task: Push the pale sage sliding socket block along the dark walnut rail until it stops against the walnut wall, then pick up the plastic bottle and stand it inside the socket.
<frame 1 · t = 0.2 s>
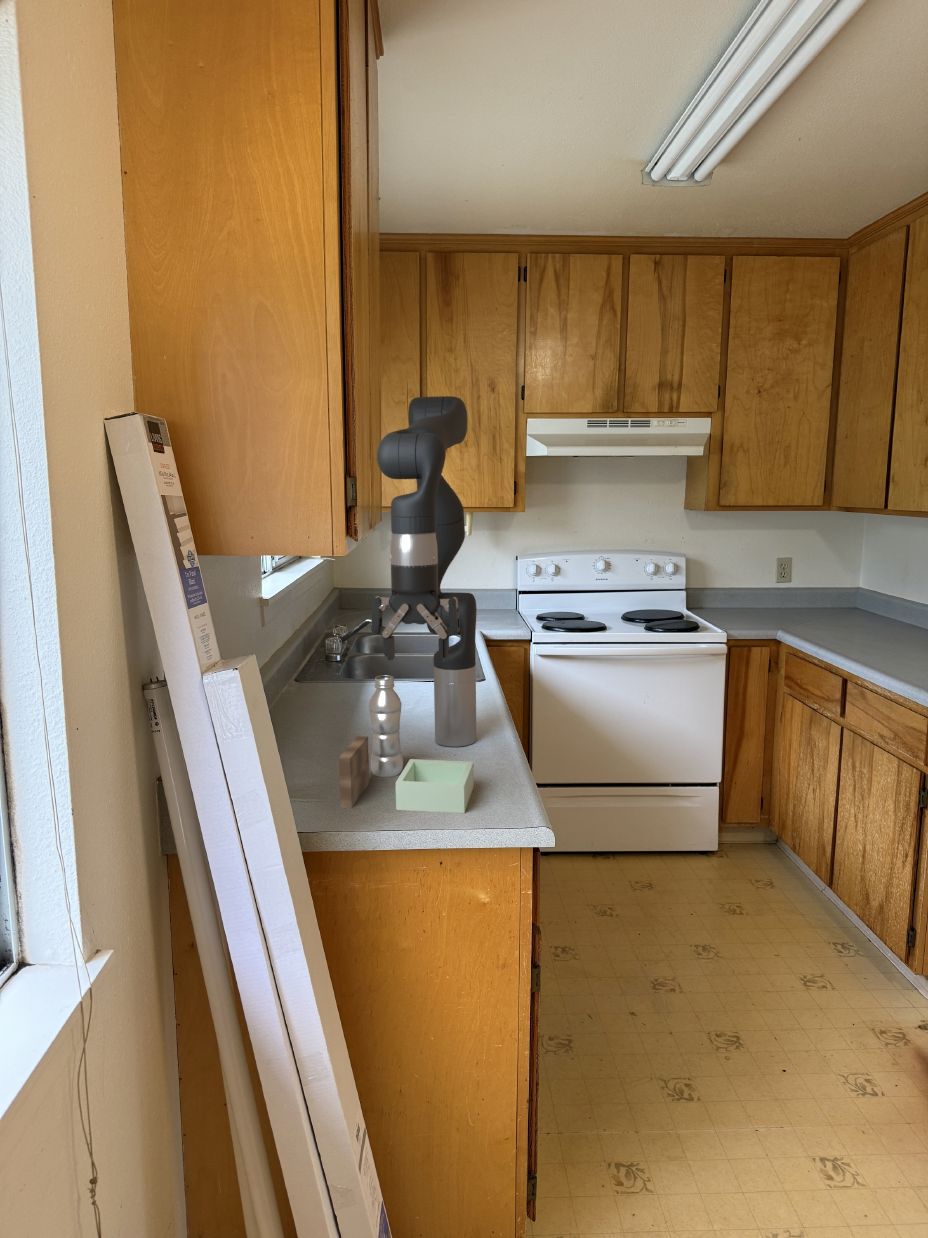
hand: (416, 659, 134), 29 cm above the countertop, tool pointing down, fingers open, 8 cm apart
socket block: (436, 785, 147), point 3 cm above the countertop, slide at 0.0 cm
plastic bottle: (387, 777, 161), on the countertop
backstop: (414, 802, 148), on the countertop
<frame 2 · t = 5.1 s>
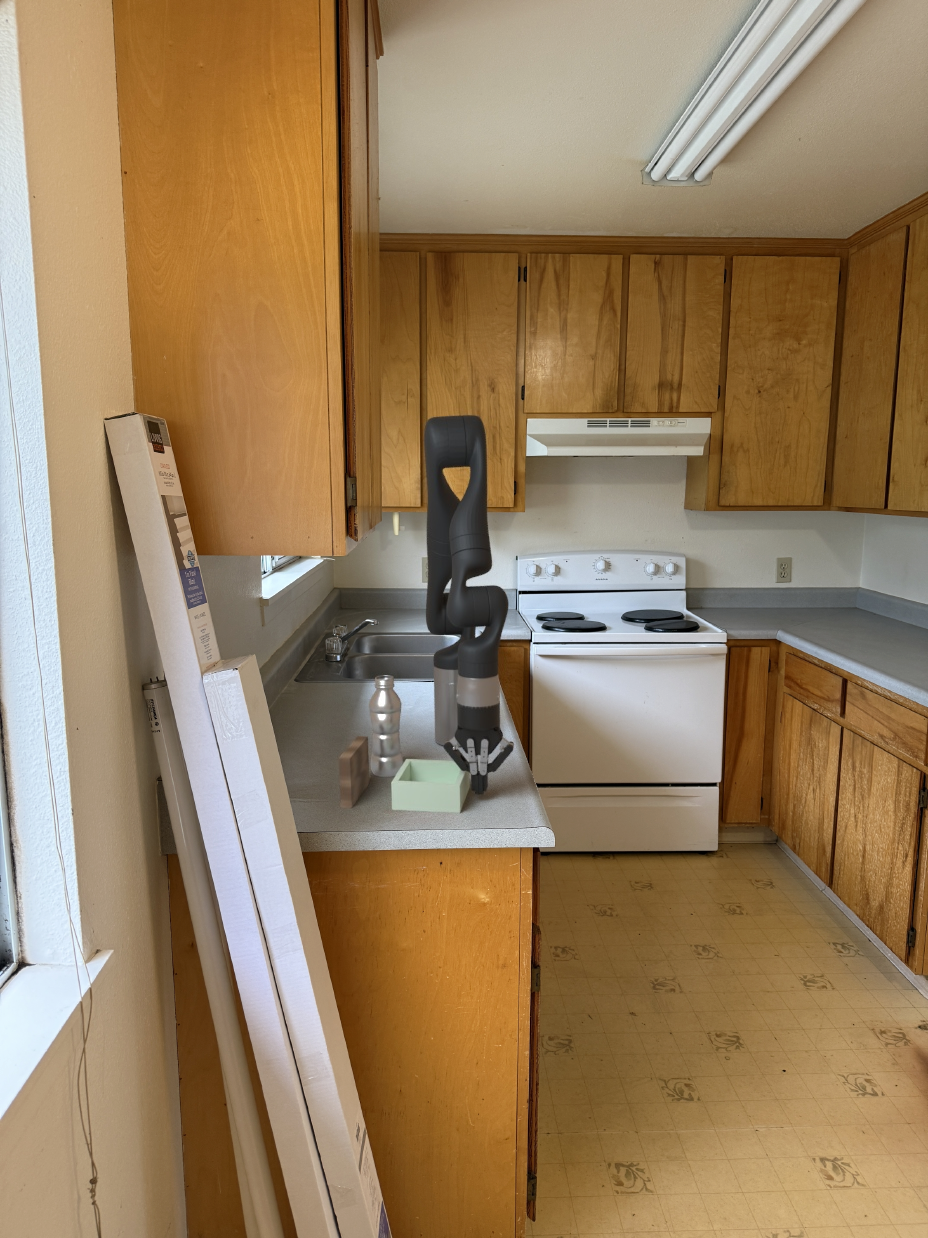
hand: (479, 792, 146), 2 cm above the countertop, tool pointing down, fingers closed
socket block: (431, 785, 147), point 3 cm above the countertop, slide at 0.8 cm, touching gripper
everything else where it was.
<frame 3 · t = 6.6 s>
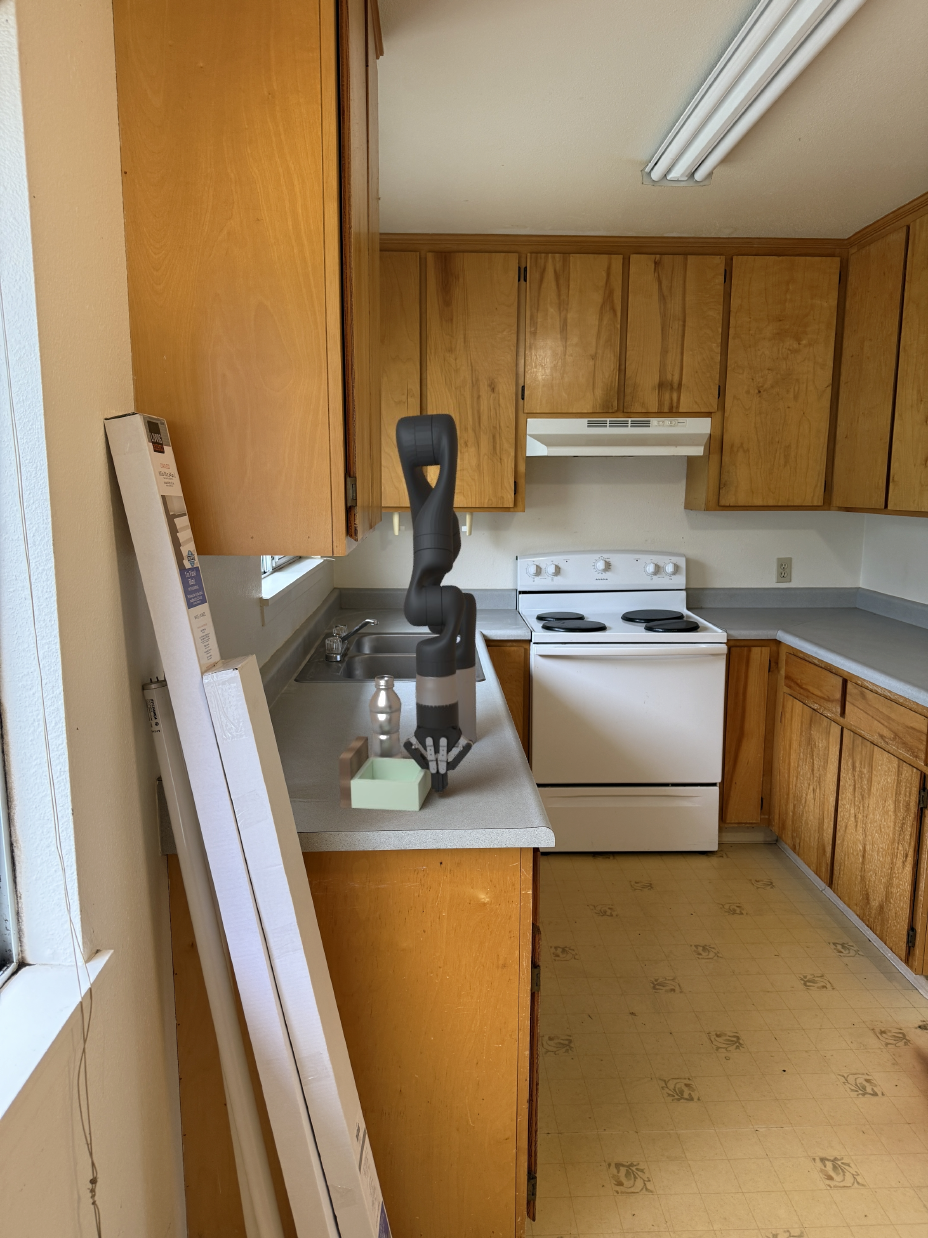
hand: (439, 790, 147), 2 cm above the countertop, tool pointing down, fingers closed
socket block: (392, 783, 148), point 3 cm above the countertop, slide at 8.0 cm, touching backstop, gripper
everything else where it was.
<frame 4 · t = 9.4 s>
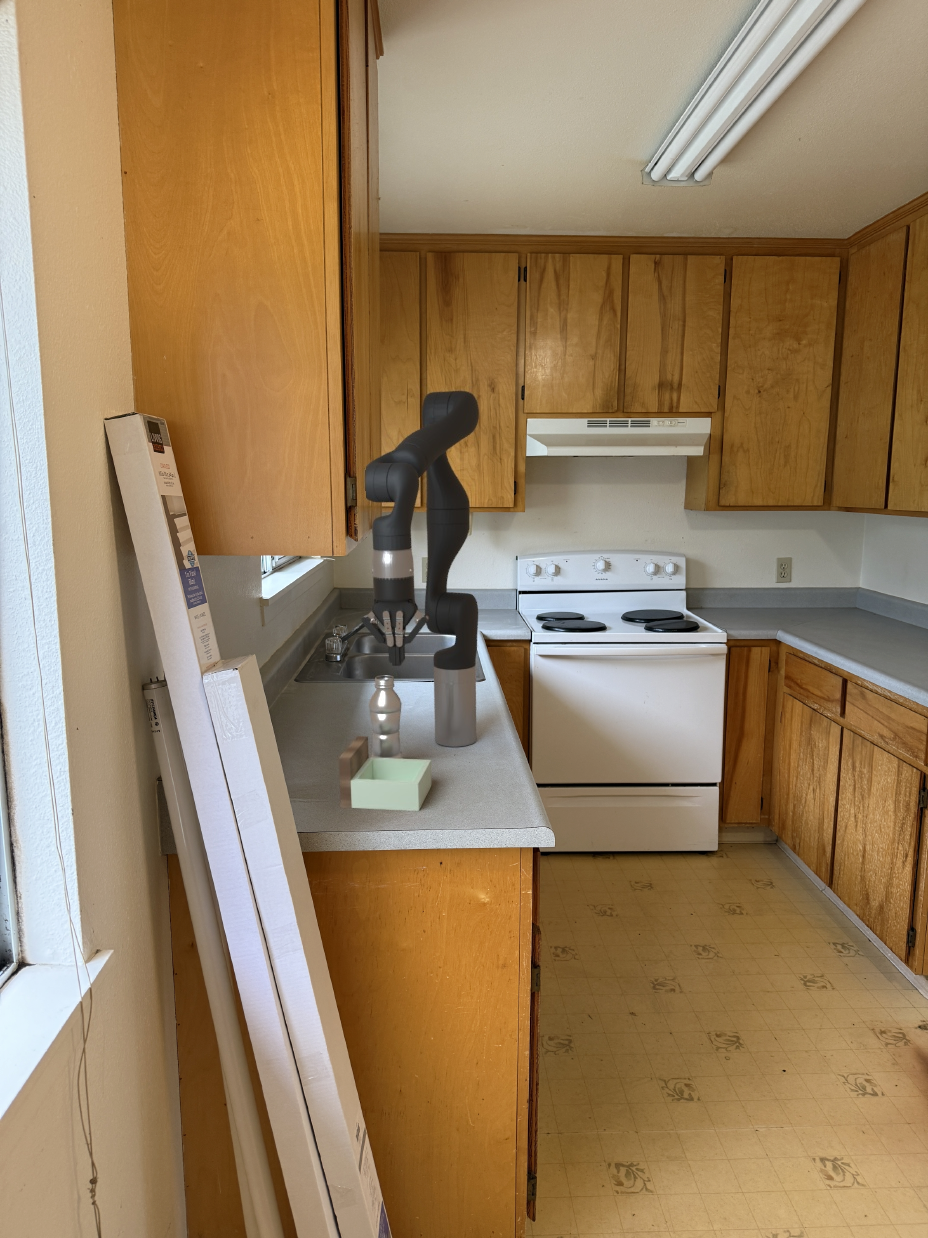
hand: (397, 664, 153), 23 cm above the countertop, tool pointing down, fingers closed
socket block: (392, 783, 148), point 3 cm above the countertop, slide at 8.0 cm, touching backstop
everything else where it was.
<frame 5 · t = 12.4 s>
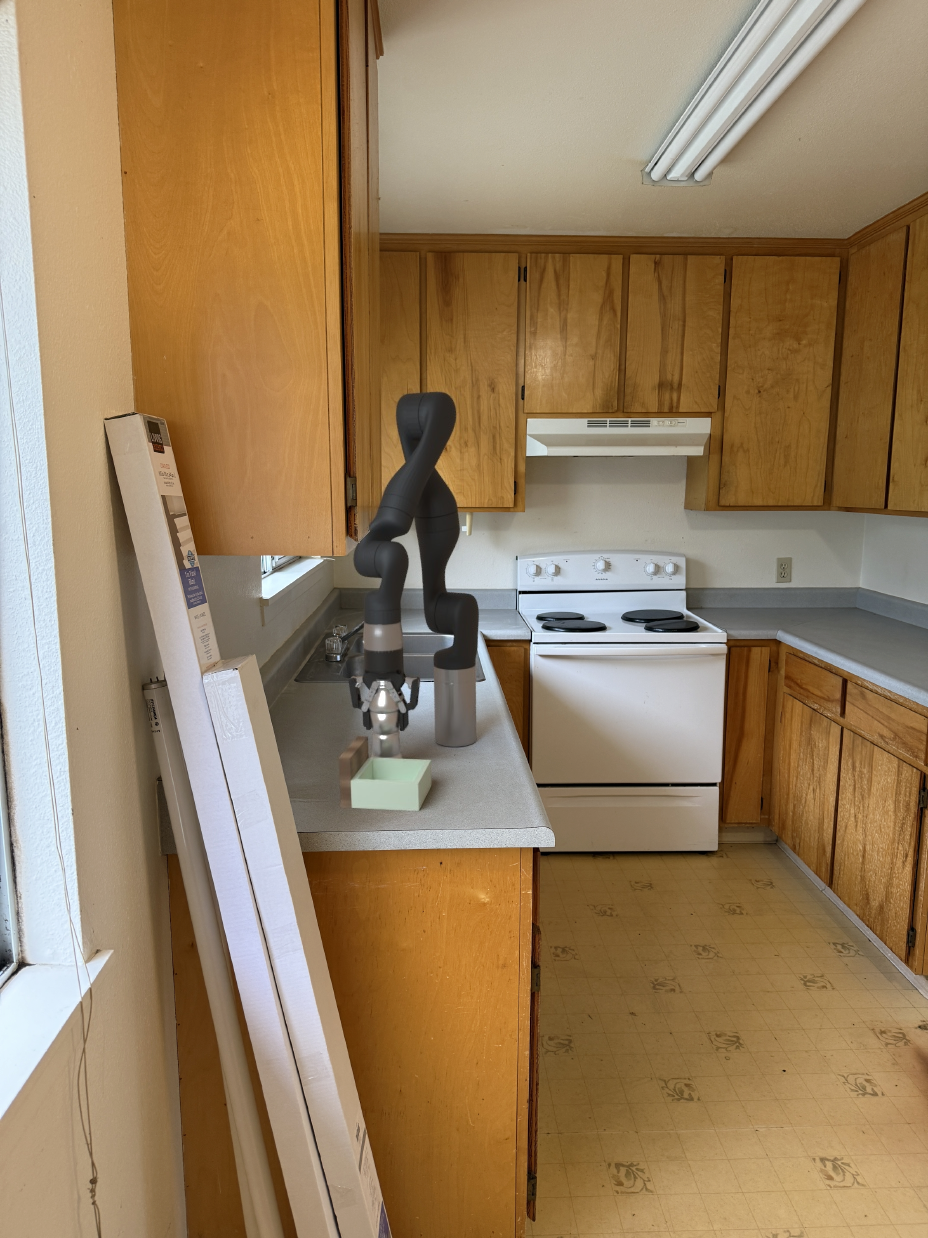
hand: (385, 729, 159), 10 cm above the countertop, tool pointing down, fingers closed on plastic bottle, 6 cm apart
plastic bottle: (387, 777, 161), on the countertop, touching gripper
everything else where it was.
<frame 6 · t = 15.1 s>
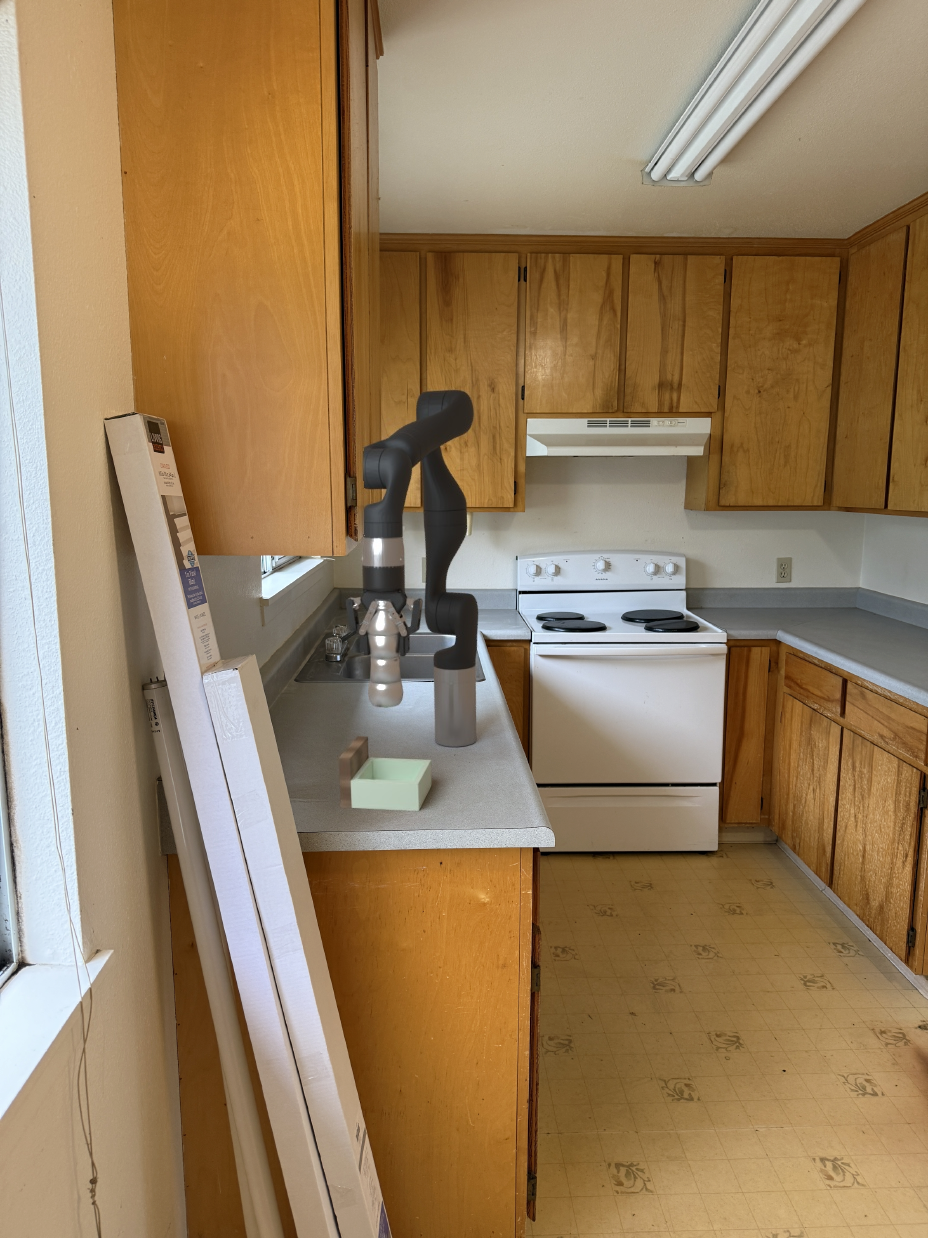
hand: (385, 654, 148), 26 cm above the countertop, tool pointing down, fingers closed on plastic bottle, 6 cm apart
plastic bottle: (385, 707, 150), point 16 cm above the countertop, touching gripper
everything else where it was.
when the fingers open (12 cm above the countertop, at t = 17.9 s): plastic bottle stays where it is, resting on socket block.
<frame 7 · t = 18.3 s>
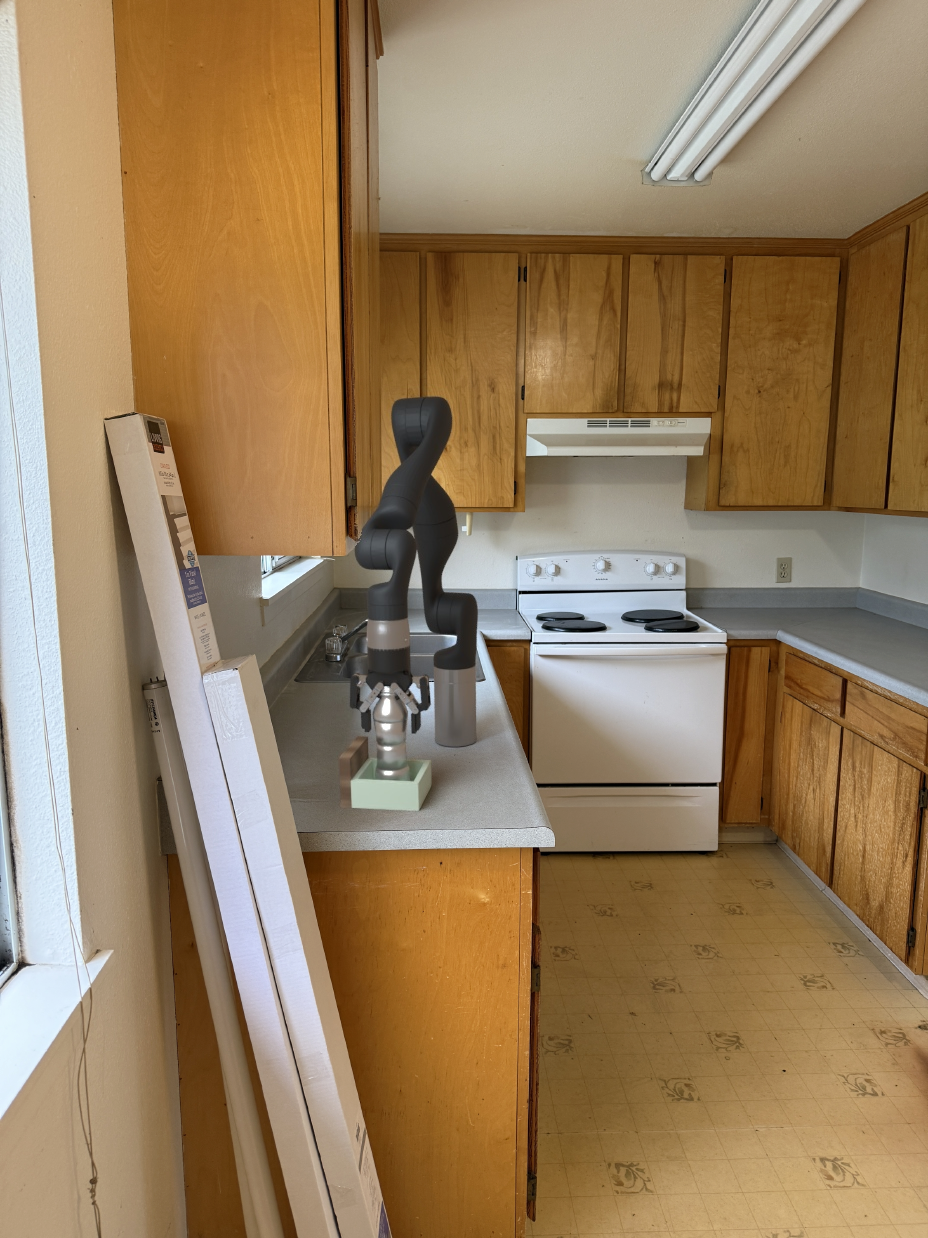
hand: (391, 731, 146), 13 cm above the countertop, tool pointing down, fingers open, 8 cm apart
socket block: (392, 783, 148), point 3 cm above the countertop, slide at 8.0 cm, touching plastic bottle
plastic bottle: (393, 791, 148), point 2 cm above the countertop, touching socket block
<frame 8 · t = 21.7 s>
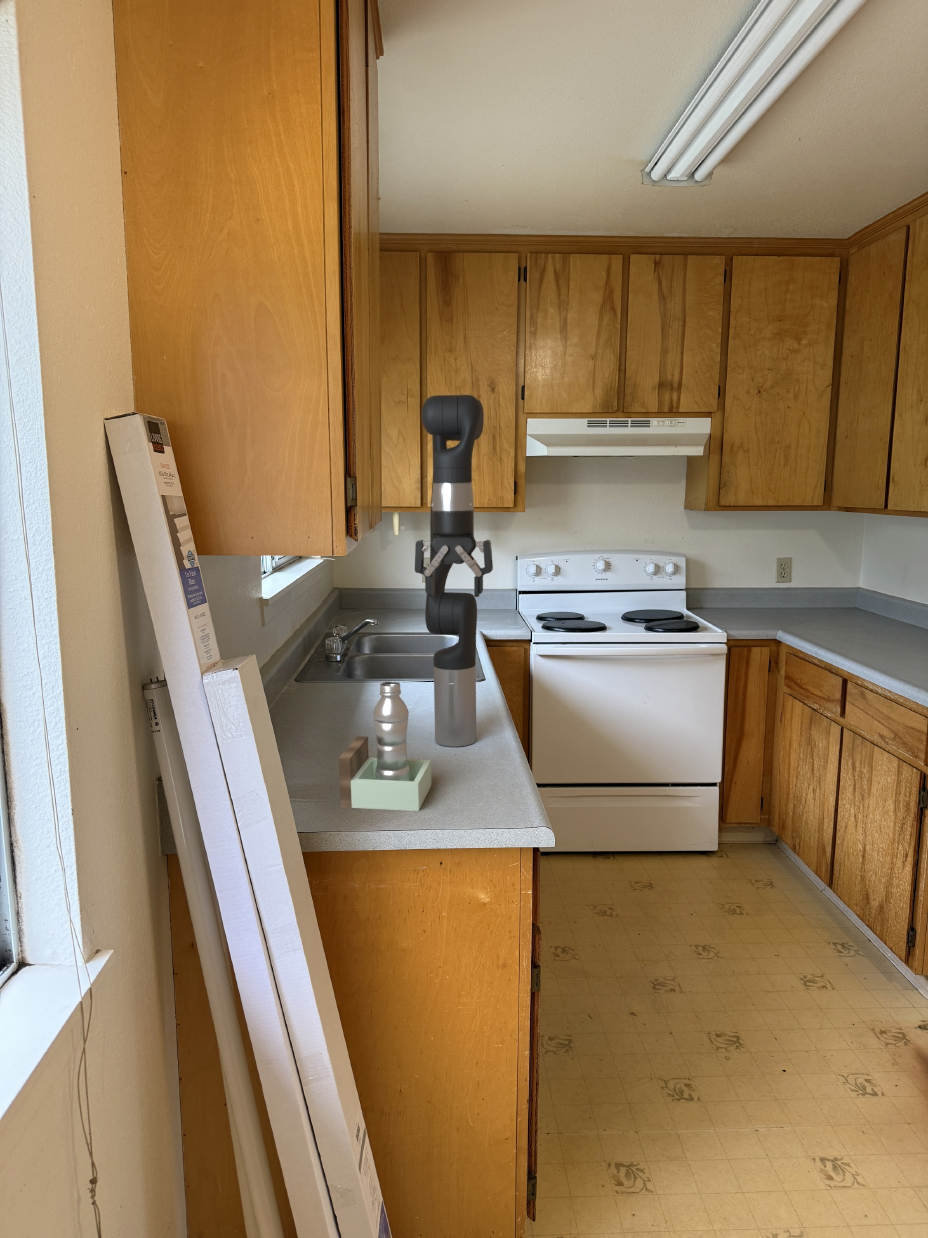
hand: (454, 596, 152), 36 cm above the countertop, tool pointing down, fingers open, 8 cm apart
nothing on the countertop moved.
at the end: socket block slide at 8.0 cm; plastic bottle 0.1 cm from the target spot, point 1.7 cm above the countertop; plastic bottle tilted 0° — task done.
